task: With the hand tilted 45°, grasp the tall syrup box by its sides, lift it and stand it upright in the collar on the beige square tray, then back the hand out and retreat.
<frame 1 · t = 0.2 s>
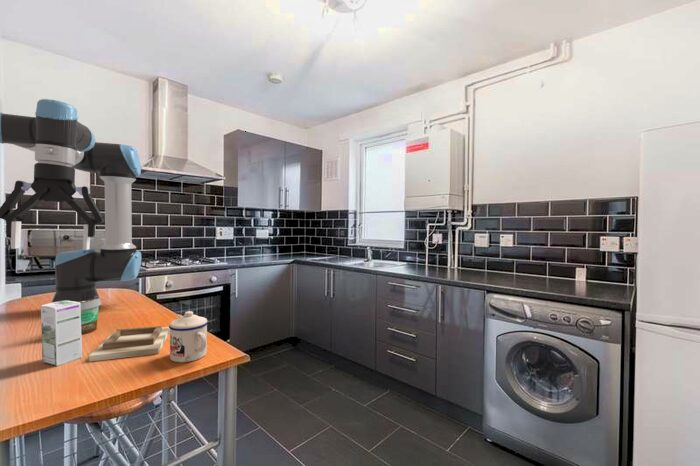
hand: (52, 249, 80), 28 cm above the table, tool pointing down, fingers open, 13 cm apart
food container: (84, 333, 99), on the table
syrup box: (62, 361, 80), on the table
beige square tray: (134, 344, 90), on the table
teacup with lid: (191, 357, 83), on the table
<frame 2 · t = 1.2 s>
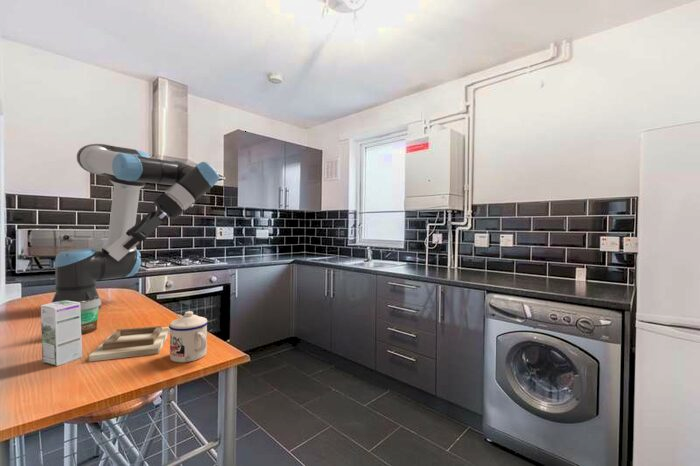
hand: (111, 255, 85), 26 cm above the table, tool tilted 45°, fingers open, 13 cm apart
nothing on the table moved.
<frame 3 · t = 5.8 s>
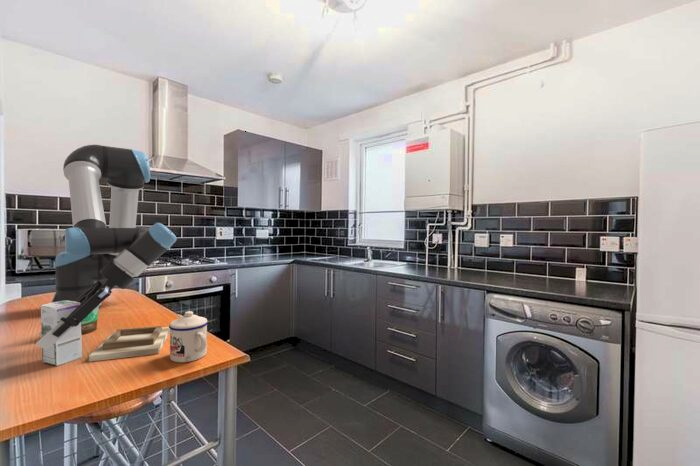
hand: (42, 341, 77), 6 cm above the table, tool tilted 45°, fingers closed on syrup box, 8 cm apart
syrup box: (62, 361, 80), on the table, touching gripper
everything else where it was.
when the fingers open (9 cm above the table, at t = 11.8 s): syrup box drops 2 cm, resting on beige square tray.
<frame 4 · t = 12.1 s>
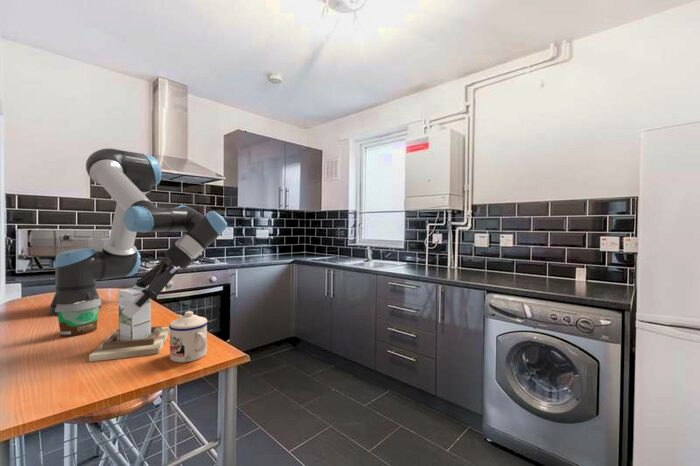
hand: (123, 310, 88), 10 cm above the table, tool tilted 45°, fingers open, 12 cm apart
syrup box: (135, 340, 90), point 1 cm above the table, touching beige square tray
everything else where it was.
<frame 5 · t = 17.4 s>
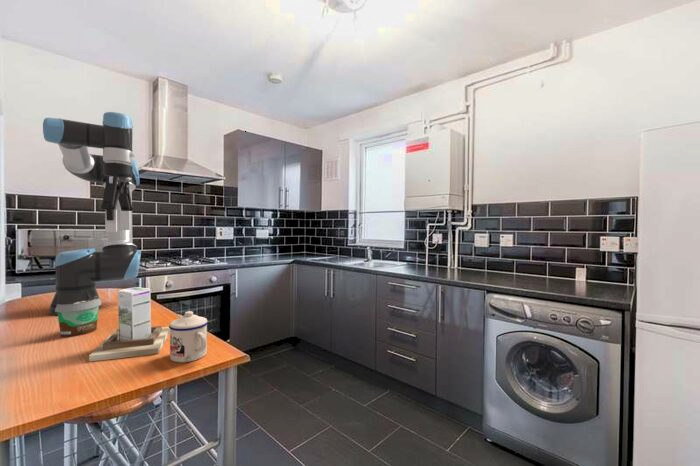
hand: (118, 231, 101), 32 cm above the table, tool pointing down, fingers open, 13 cm apart
nothing on the table moved.
at the end: syrup box 0.4 cm off-centre on the beige square tray, point 1.3 cm above the beige square tray's base; syrup box tilted 0°; the gripper is holding nothing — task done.
